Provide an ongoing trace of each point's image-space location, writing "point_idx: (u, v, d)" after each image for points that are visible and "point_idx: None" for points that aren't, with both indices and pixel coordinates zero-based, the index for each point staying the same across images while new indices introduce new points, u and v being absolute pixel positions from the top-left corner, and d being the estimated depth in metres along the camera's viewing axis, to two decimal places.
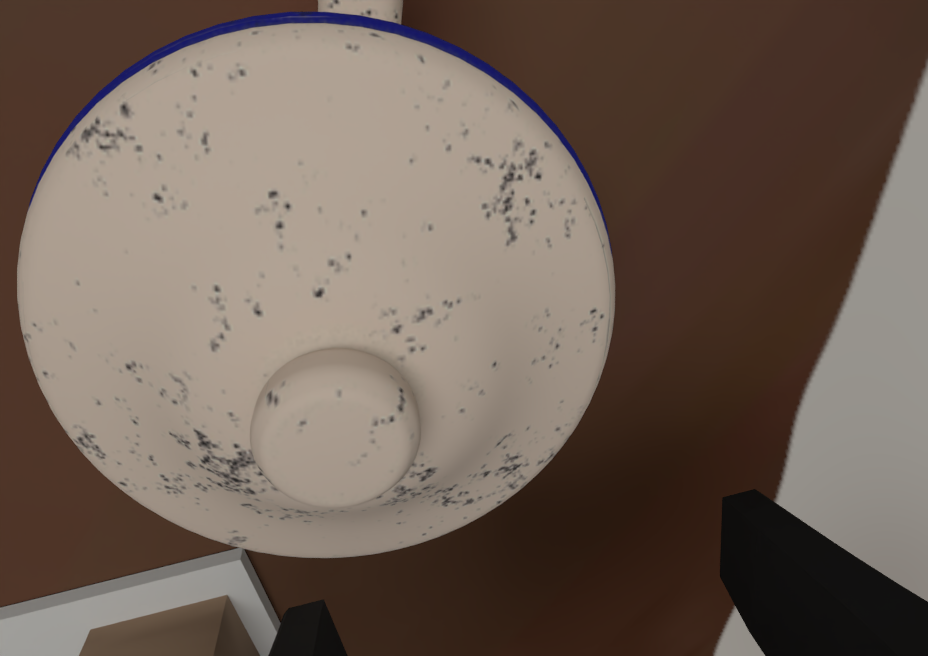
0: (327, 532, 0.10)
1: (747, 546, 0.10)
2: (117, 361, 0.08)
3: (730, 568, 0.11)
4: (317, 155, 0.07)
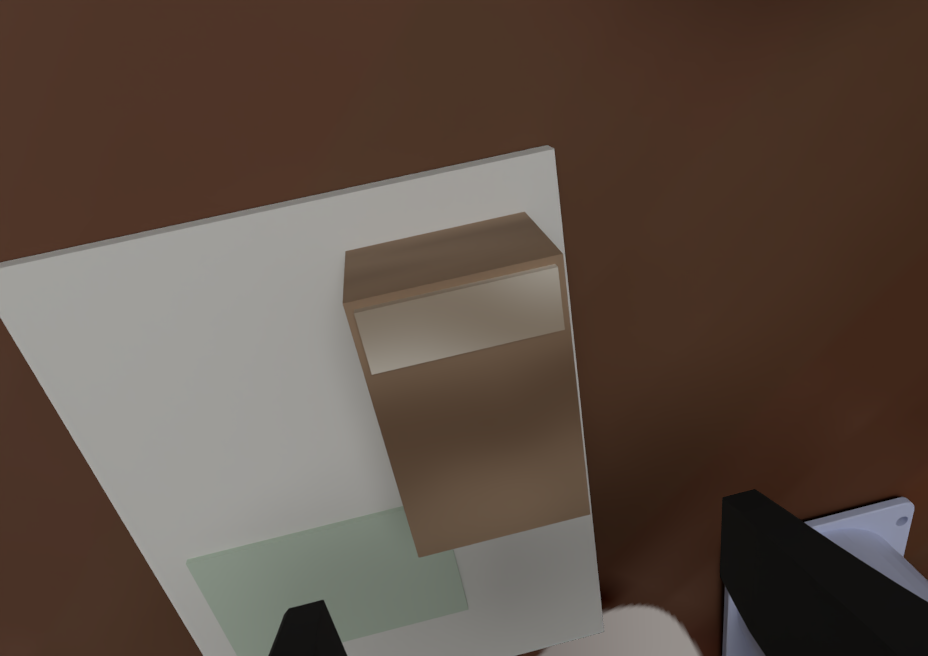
0: None
1: (747, 546, 0.10)
2: None
3: (730, 568, 0.11)
4: None
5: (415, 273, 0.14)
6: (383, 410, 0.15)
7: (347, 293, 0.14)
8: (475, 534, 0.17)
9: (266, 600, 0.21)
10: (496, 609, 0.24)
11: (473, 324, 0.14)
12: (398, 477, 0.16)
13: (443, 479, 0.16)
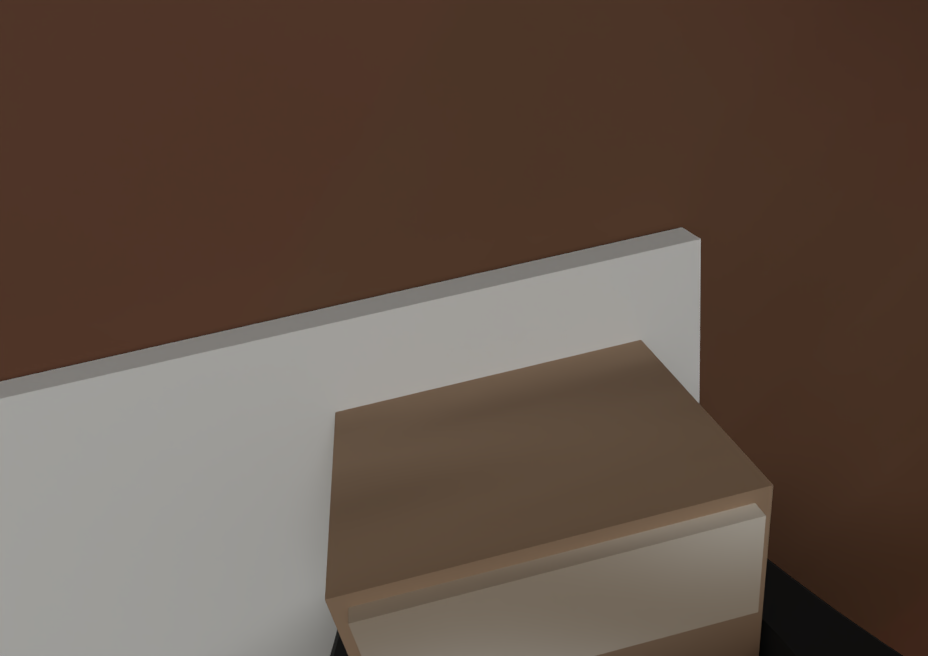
0: None
1: None
2: None
3: None
4: None
5: (469, 506, 0.07)
6: None
7: (335, 559, 0.07)
8: None
9: None
10: None
11: (587, 619, 0.07)
12: None
13: None
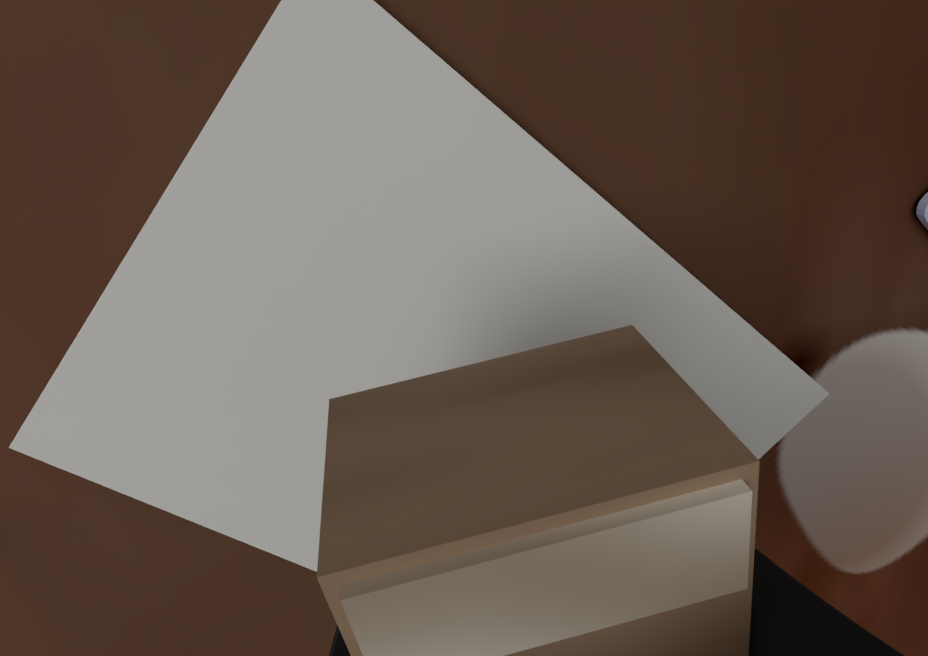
0: None
1: None
2: None
3: None
4: None
5: (459, 486, 0.07)
6: None
7: (328, 539, 0.07)
8: None
9: None
10: None
11: (578, 596, 0.07)
12: None
13: None
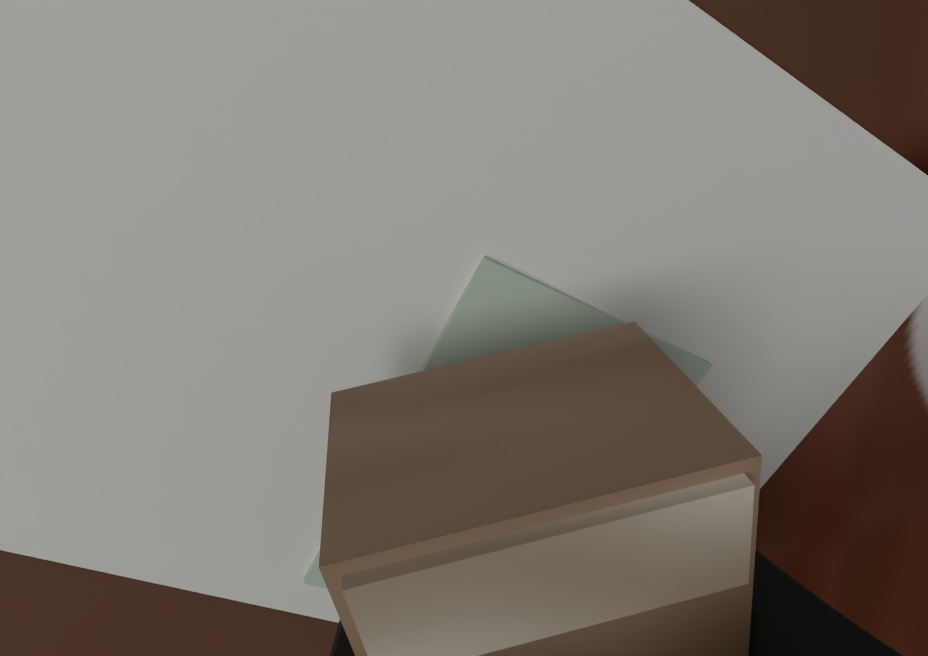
0: None
1: None
2: None
3: None
4: None
5: (461, 479, 0.07)
6: None
7: (330, 529, 0.07)
8: None
9: None
10: (759, 331, 0.13)
11: (579, 589, 0.07)
12: None
13: None
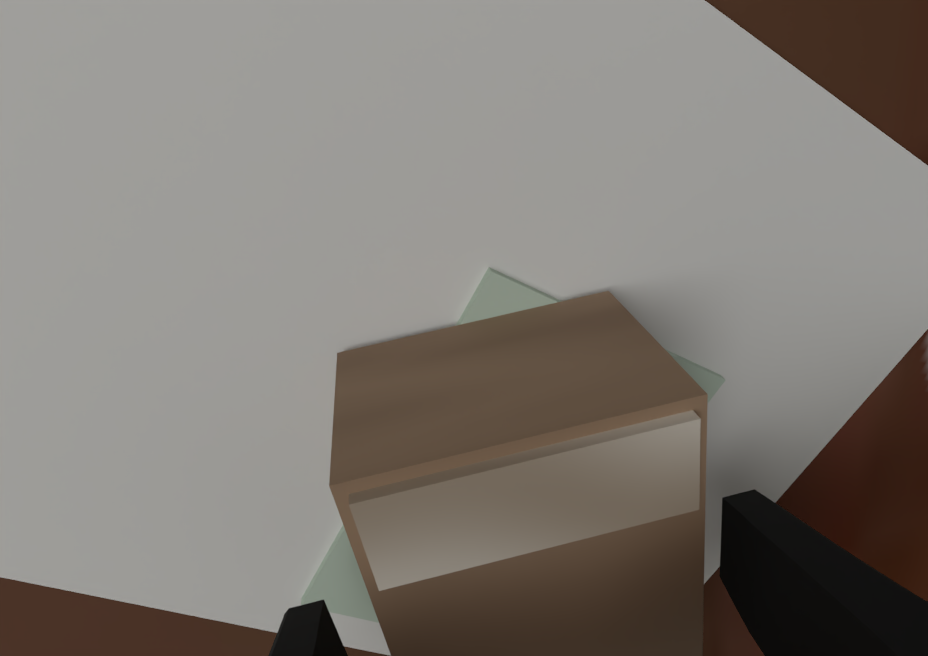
0: None
1: (747, 546, 0.10)
2: None
3: (730, 568, 0.11)
4: None
5: (451, 417, 0.08)
6: (397, 631, 0.09)
7: (338, 458, 0.08)
8: None
9: None
10: (774, 344, 0.12)
11: (551, 510, 0.08)
12: None
13: None
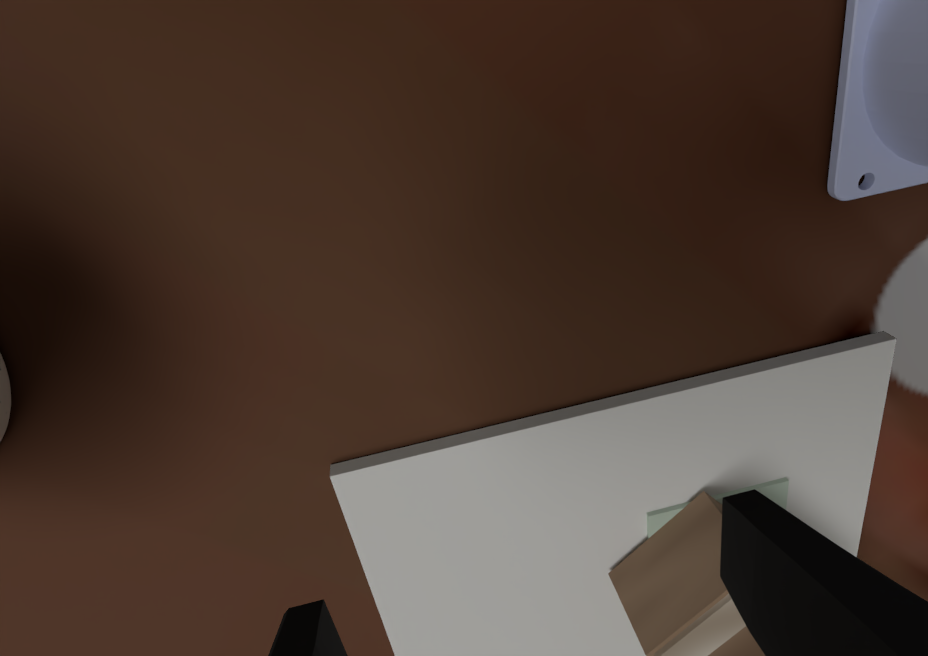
0: None
1: (747, 546, 0.10)
2: None
3: (730, 568, 0.11)
4: None
5: (671, 605, 0.21)
6: None
7: (641, 640, 0.21)
8: None
9: None
10: (803, 451, 0.23)
11: (727, 624, 0.20)
12: None
13: None
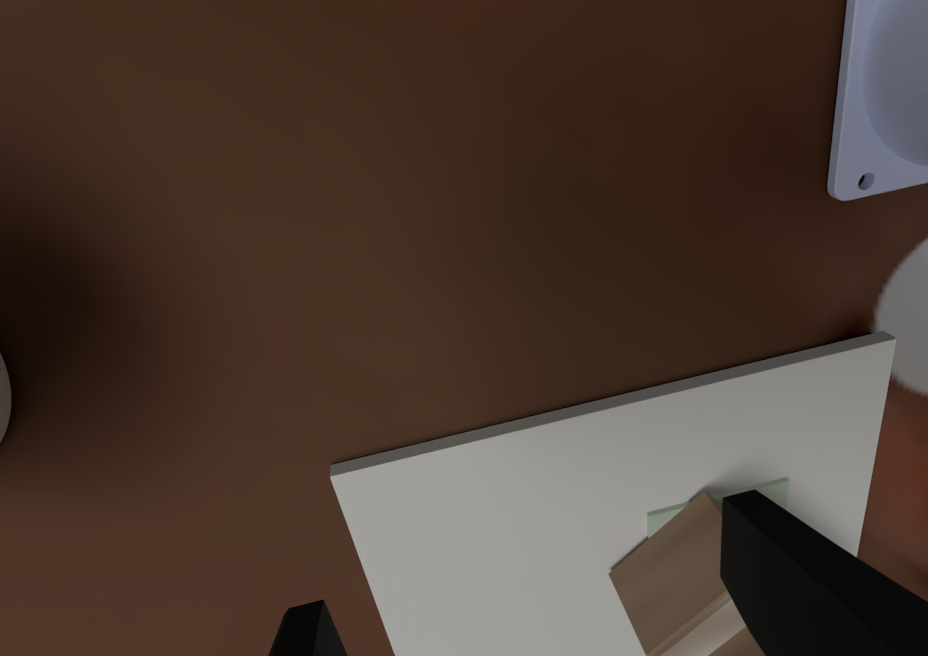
0: None
1: (747, 546, 0.10)
2: None
3: (730, 568, 0.11)
4: None
5: (671, 605, 0.21)
6: None
7: (641, 640, 0.21)
8: None
9: None
10: (803, 451, 0.23)
11: (728, 624, 0.20)
12: None
13: None
